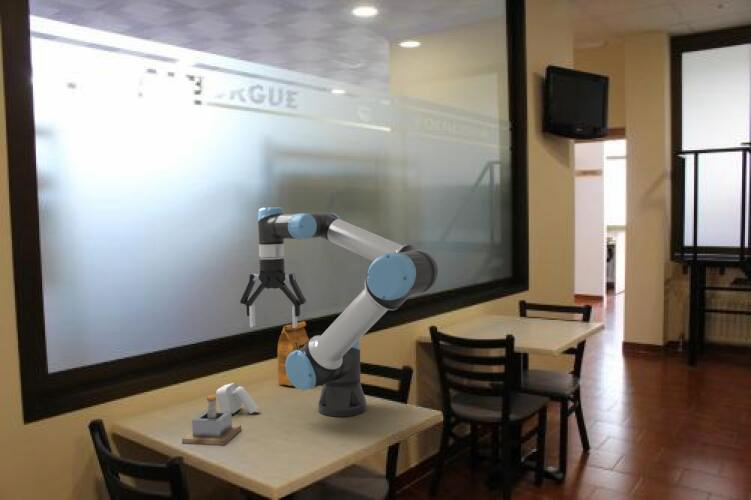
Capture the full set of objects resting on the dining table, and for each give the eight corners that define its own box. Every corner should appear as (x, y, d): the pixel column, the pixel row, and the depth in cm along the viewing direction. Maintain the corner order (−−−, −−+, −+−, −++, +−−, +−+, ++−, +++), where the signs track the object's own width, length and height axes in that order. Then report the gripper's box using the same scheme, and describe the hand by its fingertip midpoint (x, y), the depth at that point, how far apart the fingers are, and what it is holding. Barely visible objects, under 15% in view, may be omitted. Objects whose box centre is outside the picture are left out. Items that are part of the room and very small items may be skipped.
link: (231, 427, 176) (231, 411, 176) (220, 437, 168) (219, 421, 168) (205, 426, 177) (204, 410, 177) (192, 436, 169) (192, 420, 169)
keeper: (241, 429, 177) (240, 390, 177) (224, 445, 166) (222, 403, 165) (201, 427, 179) (200, 389, 179) (182, 443, 168) (180, 402, 167)
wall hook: (254, 416, 187) (245, 384, 187) (223, 422, 189) (215, 390, 189) (264, 407, 195) (256, 377, 195) (234, 414, 197) (226, 383, 197)
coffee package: (318, 381, 226) (317, 321, 225) (293, 389, 216) (292, 327, 215) (299, 377, 232) (297, 319, 231) (274, 385, 223) (272, 324, 221)
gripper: (314, 256, 191) (316, 325, 192) (237, 257, 195) (239, 324, 196) (307, 258, 184) (309, 329, 185) (228, 259, 188) (230, 328, 189)
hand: (273, 326), depth 191 cm, fingers open, 13 cm apart
